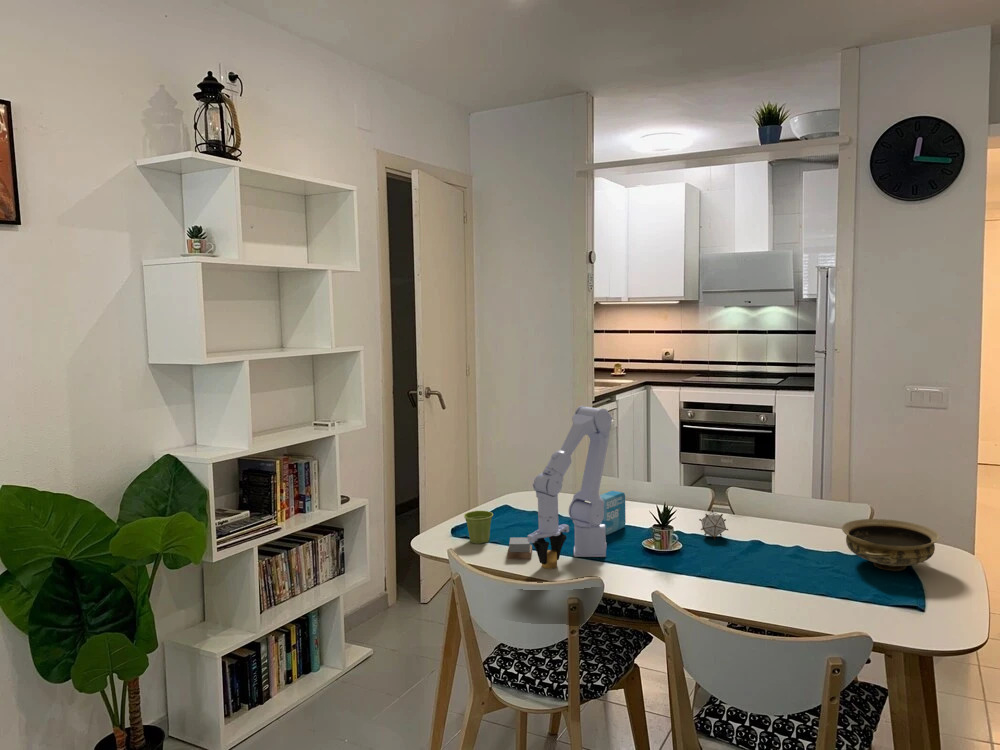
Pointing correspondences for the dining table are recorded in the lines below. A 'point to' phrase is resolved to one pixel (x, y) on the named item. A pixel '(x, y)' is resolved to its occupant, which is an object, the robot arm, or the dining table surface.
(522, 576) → the dining table surface
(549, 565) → the golden brown cylinder
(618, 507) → the data package
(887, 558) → the ceramic bowl
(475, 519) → the plant pot
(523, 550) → the grey painted block
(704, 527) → the grey spiked ball
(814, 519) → the dining table surface
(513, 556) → the walnut base block
